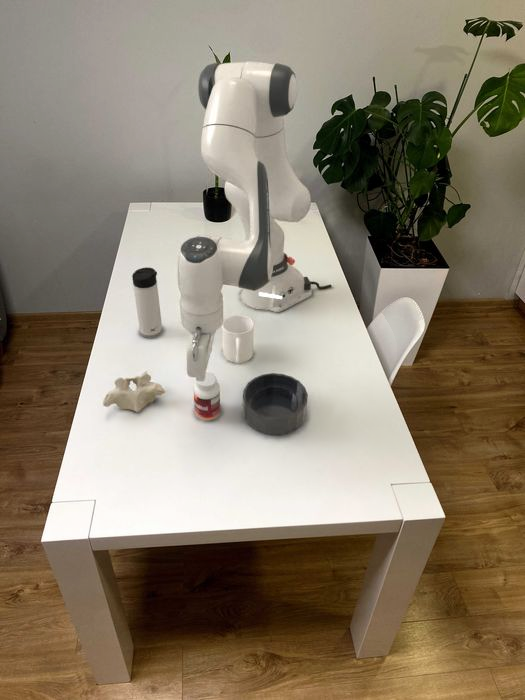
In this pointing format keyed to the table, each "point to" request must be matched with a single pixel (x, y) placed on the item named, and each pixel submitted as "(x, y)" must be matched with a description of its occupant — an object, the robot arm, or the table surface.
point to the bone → (133, 393)
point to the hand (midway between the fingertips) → (204, 364)
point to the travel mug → (147, 302)
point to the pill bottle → (207, 397)
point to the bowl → (274, 403)
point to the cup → (237, 338)
